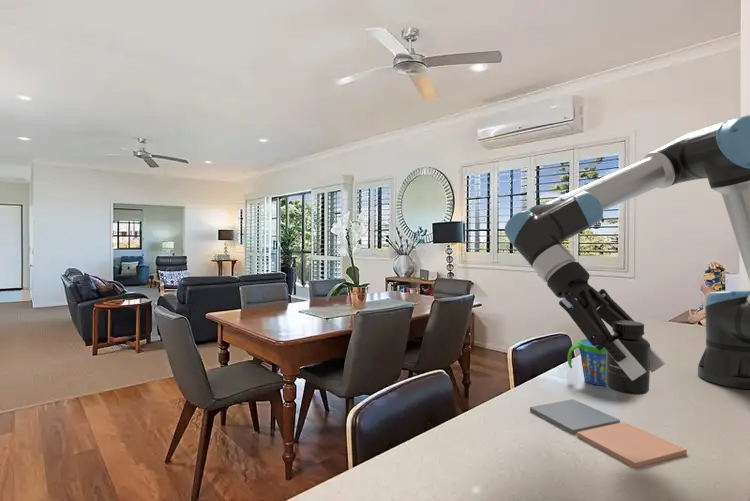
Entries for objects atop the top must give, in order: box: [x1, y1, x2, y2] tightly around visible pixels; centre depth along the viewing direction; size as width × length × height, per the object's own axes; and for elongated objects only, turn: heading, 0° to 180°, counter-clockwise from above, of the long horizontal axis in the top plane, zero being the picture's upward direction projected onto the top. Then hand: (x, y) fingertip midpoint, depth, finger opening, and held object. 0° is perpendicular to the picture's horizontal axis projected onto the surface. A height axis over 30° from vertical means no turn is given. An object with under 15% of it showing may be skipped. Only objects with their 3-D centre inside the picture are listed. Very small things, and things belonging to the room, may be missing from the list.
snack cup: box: [567, 338, 607, 387], centre depth 110 cm, size 16×10×10 cm
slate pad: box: [529, 398, 621, 435], centre depth 89 cm, size 12×12×1 cm
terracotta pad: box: [576, 421, 688, 469], centre depth 77 cm, size 12×12×1 cm
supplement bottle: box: [606, 320, 651, 396], centre depth 76 cm, size 7×7×12 cm
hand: (649, 371), depth 74 cm, fingers closed on supplement bottle, 7 cm apart
